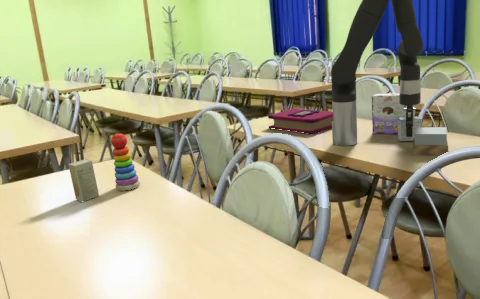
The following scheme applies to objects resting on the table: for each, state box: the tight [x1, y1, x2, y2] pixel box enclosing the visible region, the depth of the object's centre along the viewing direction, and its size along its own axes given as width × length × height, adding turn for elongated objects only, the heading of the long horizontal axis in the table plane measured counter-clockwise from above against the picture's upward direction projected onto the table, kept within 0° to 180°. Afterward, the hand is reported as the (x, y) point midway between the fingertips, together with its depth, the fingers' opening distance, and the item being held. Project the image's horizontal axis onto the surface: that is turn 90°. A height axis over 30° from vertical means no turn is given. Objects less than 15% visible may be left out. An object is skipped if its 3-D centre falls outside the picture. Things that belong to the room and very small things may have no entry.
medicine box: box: [397, 116, 423, 142], centre depth 173 cm, size 8×4×9 cm, turn 84°
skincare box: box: [68, 158, 100, 203], centre depth 141 cm, size 6×4×12 cm
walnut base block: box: [412, 138, 449, 157], centre depth 158 cm, size 11×11×4 cm
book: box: [267, 108, 333, 135], centre depth 214 cm, size 21×28×8 cm
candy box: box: [371, 92, 407, 135], centre depth 187 cm, size 14×6×16 cm, turn 58°
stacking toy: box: [110, 133, 141, 192], centre depth 147 cm, size 8×8×19 cm
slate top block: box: [415, 126, 448, 146], centre depth 157 cm, size 10×10×4 cm
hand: (409, 134), depth 174 cm, fingers closed on medicine box, 5 cm apart
